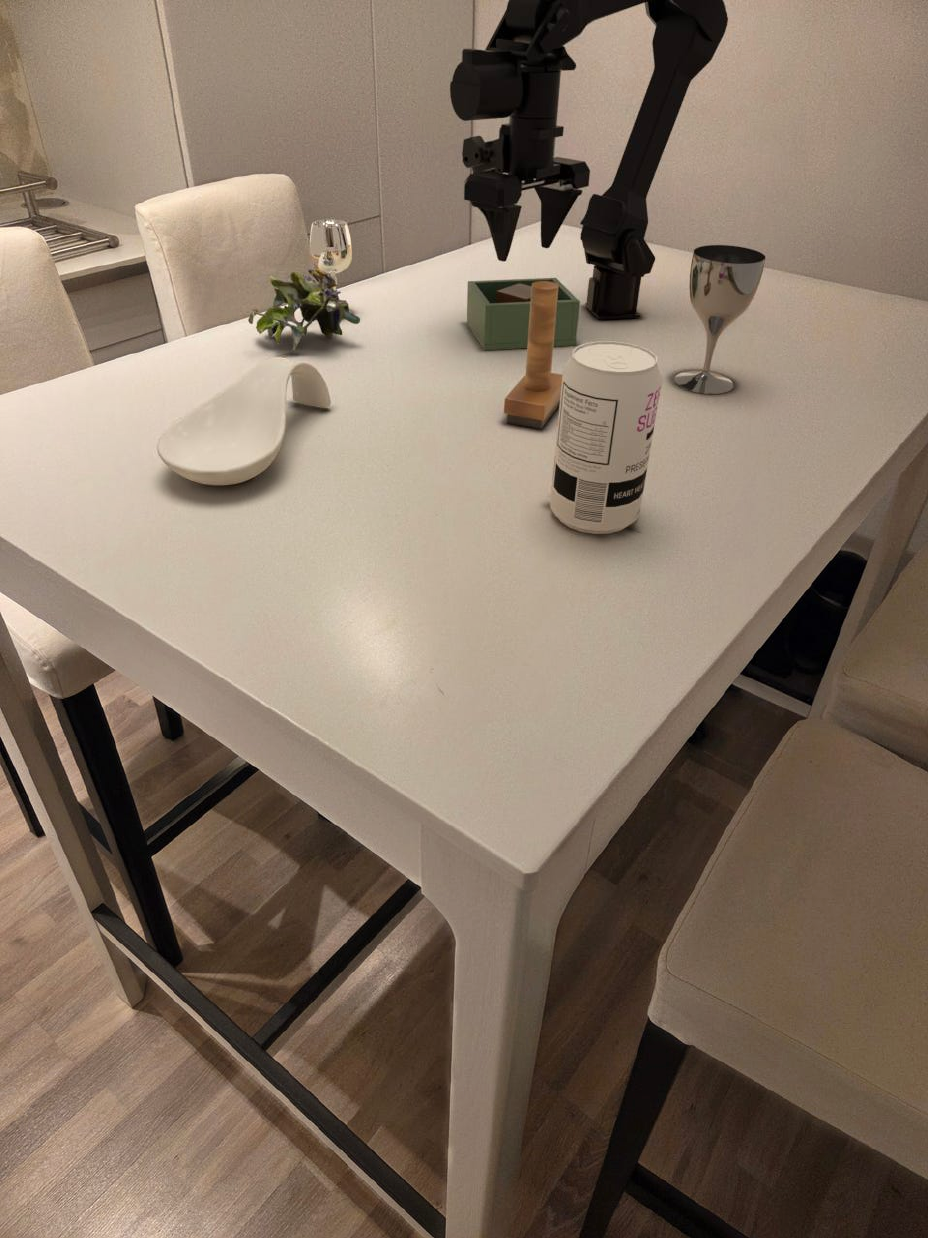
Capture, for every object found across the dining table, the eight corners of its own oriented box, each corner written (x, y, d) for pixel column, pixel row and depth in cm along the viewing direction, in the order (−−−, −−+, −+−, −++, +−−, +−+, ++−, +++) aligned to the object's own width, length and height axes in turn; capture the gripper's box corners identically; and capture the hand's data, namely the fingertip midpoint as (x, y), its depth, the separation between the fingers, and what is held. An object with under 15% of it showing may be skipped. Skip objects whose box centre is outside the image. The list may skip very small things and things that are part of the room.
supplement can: (542, 493, 83) (556, 338, 74) (626, 491, 83) (651, 338, 74) (557, 538, 76) (574, 375, 67) (648, 536, 77) (677, 374, 68)
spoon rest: (247, 512, 79) (237, 440, 74) (138, 489, 82) (122, 418, 77) (358, 412, 97) (355, 349, 92) (265, 396, 100) (258, 334, 95)
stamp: (565, 400, 101) (578, 275, 92) (542, 431, 94) (554, 300, 85) (528, 393, 102) (536, 270, 93) (502, 423, 95) (510, 294, 87)
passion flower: (329, 375, 119) (377, 307, 112) (289, 390, 109) (340, 316, 103) (268, 318, 118) (314, 245, 112) (224, 327, 109) (270, 249, 103)
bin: (552, 319, 123) (556, 277, 120) (575, 345, 115) (580, 301, 112) (466, 323, 121) (467, 280, 118) (483, 350, 113) (485, 305, 109)
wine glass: (739, 375, 108) (767, 249, 99) (733, 399, 102) (763, 267, 93) (675, 366, 110) (697, 241, 101) (666, 389, 104) (689, 258, 95)
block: (517, 319, 120) (519, 282, 117) (545, 328, 118) (549, 290, 115) (494, 328, 117) (496, 290, 114) (523, 337, 115) (526, 299, 112)
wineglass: (359, 308, 125) (354, 219, 118) (351, 321, 121) (346, 229, 113) (320, 306, 125) (313, 217, 118) (310, 319, 121) (303, 227, 114)
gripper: (527, 102, 112) (519, 230, 122) (430, 114, 101) (429, 255, 110) (598, 111, 106) (584, 245, 116) (504, 126, 95) (497, 273, 104)
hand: (524, 253), depth 112 cm, fingers open, 9 cm apart
